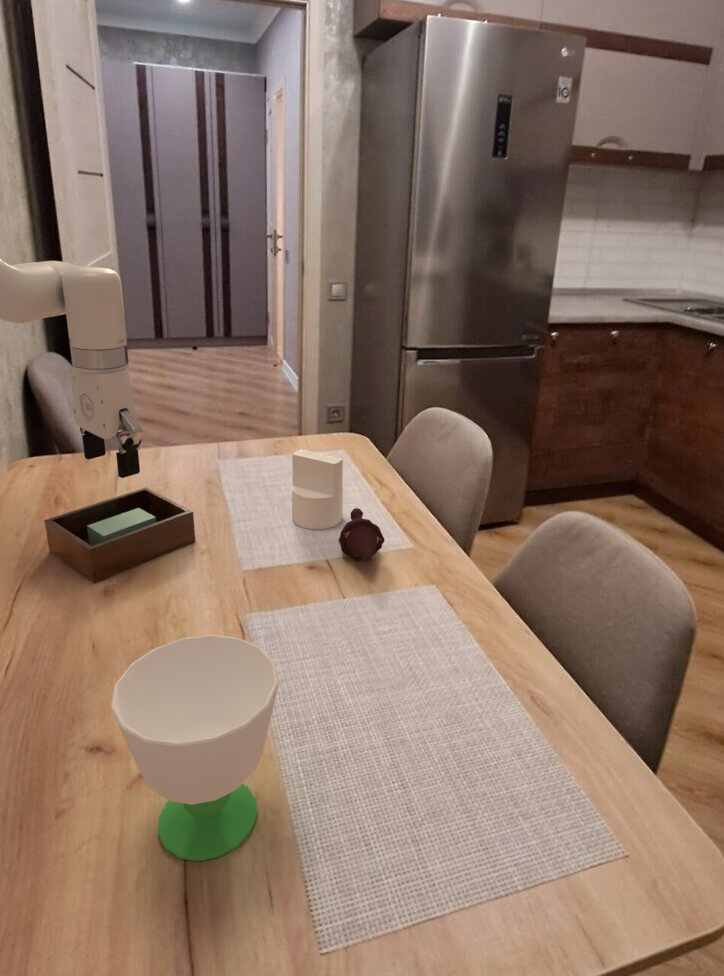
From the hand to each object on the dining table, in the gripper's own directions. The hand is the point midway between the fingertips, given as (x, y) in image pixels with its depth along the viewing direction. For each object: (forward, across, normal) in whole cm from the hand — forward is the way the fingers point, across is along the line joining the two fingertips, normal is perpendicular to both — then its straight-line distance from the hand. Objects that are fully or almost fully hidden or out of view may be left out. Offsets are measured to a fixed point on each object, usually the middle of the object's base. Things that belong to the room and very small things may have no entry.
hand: (112, 465), depth 103 cm
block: (+14, +1, 0) cm, 14 cm away
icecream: (+14, +31, +24) cm, 41 cm away
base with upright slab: (+14, +16, +29) cm, 36 cm away
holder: (+14, +1, 0) cm, 14 cm away
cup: (+14, +53, -22) cm, 59 cm away
